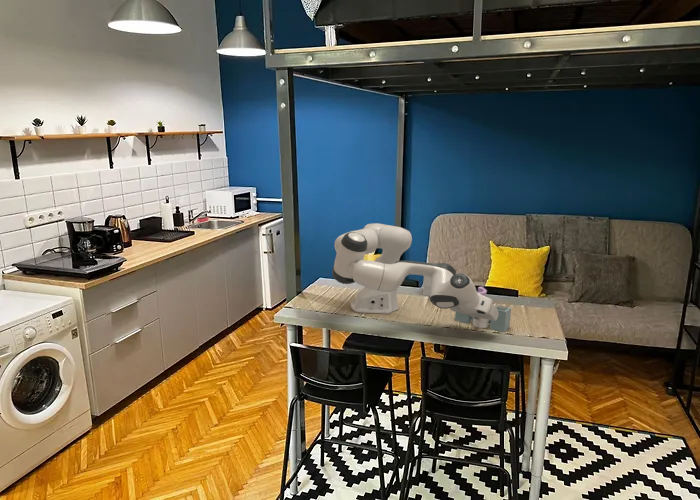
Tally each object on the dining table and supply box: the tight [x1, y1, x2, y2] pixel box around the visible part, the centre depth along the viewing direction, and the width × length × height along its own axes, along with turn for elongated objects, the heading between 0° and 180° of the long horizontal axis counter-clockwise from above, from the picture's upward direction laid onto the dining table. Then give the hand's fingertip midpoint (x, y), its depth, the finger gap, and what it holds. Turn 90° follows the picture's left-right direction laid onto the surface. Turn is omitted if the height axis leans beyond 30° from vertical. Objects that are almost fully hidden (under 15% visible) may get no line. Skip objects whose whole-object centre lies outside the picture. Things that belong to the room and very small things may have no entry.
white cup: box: [471, 318, 490, 329], centre depth 214 cm, size 8×8×10 cm
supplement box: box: [422, 276, 431, 297], centre depth 255 cm, size 9×9×15 cm
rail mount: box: [454, 304, 512, 333], centre depth 216 cm, size 8×22×9 cm, turn 53°
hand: (477, 318), depth 211 cm, fingers closed, pressing on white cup
